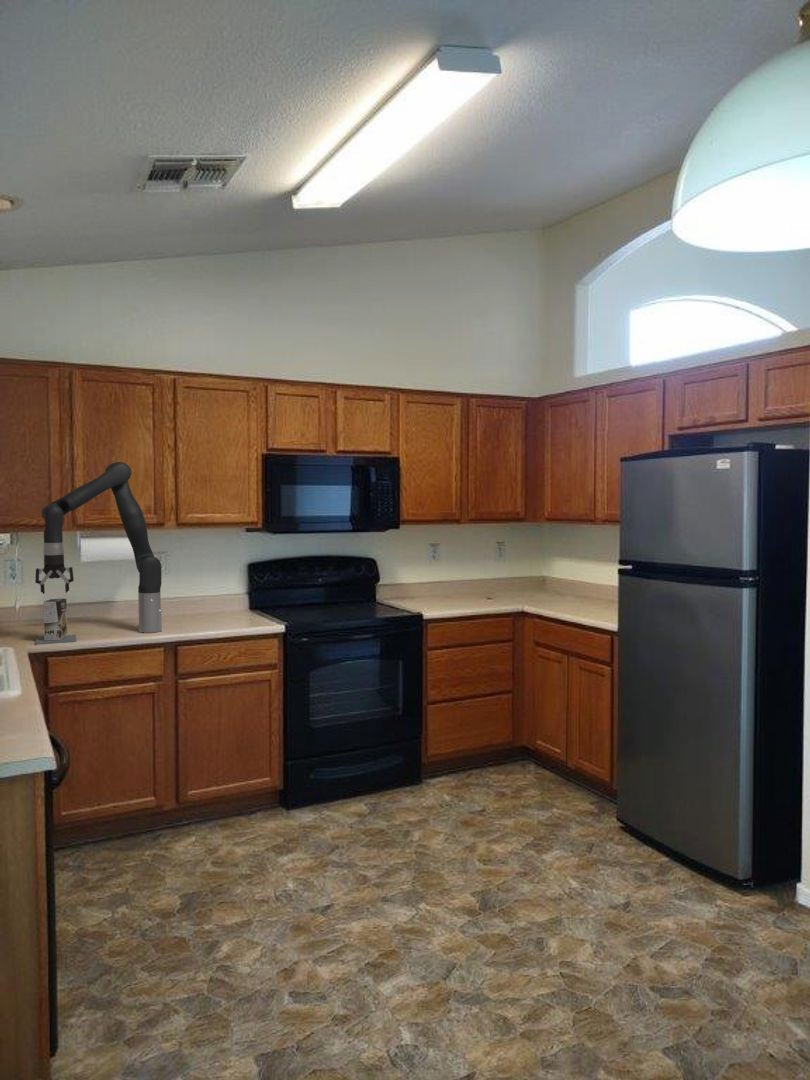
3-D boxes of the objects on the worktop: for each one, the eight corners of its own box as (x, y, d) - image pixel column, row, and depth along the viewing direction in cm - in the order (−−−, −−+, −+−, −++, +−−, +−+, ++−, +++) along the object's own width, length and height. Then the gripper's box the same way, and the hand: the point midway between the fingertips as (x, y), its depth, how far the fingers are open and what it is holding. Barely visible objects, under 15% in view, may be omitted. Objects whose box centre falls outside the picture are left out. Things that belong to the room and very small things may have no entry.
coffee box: (60, 640, 317) (59, 601, 316) (43, 640, 317) (42, 601, 316) (67, 636, 326) (67, 598, 325) (51, 636, 326) (51, 598, 325)
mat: (75, 636, 331) (75, 634, 331) (76, 641, 318) (76, 640, 318) (36, 638, 325) (36, 637, 325) (35, 644, 312) (35, 643, 312)
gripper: (34, 554, 313) (35, 595, 314) (72, 553, 319) (74, 593, 320) (34, 553, 320) (36, 592, 321) (72, 552, 326) (73, 591, 327)
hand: (55, 593), depth 320 cm, fingers open, 8 cm apart
